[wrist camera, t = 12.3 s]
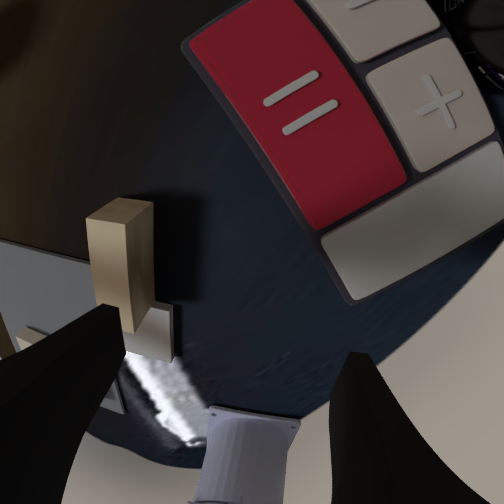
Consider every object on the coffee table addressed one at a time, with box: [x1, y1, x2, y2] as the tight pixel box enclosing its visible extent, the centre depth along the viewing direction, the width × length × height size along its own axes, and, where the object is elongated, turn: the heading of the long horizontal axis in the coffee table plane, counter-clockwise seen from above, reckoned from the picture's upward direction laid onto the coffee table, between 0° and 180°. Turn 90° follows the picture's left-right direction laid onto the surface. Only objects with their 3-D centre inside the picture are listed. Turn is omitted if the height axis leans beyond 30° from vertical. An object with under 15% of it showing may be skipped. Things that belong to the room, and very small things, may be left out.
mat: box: [0, 239, 125, 414], centre depth 24 cm, size 18×14×1 cm
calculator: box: [181, 0, 504, 306], centre depth 13 cm, size 11×4×15 cm
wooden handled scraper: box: [86, 197, 174, 363], centre depth 19 cm, size 12×5×4 cm, turn 172°
